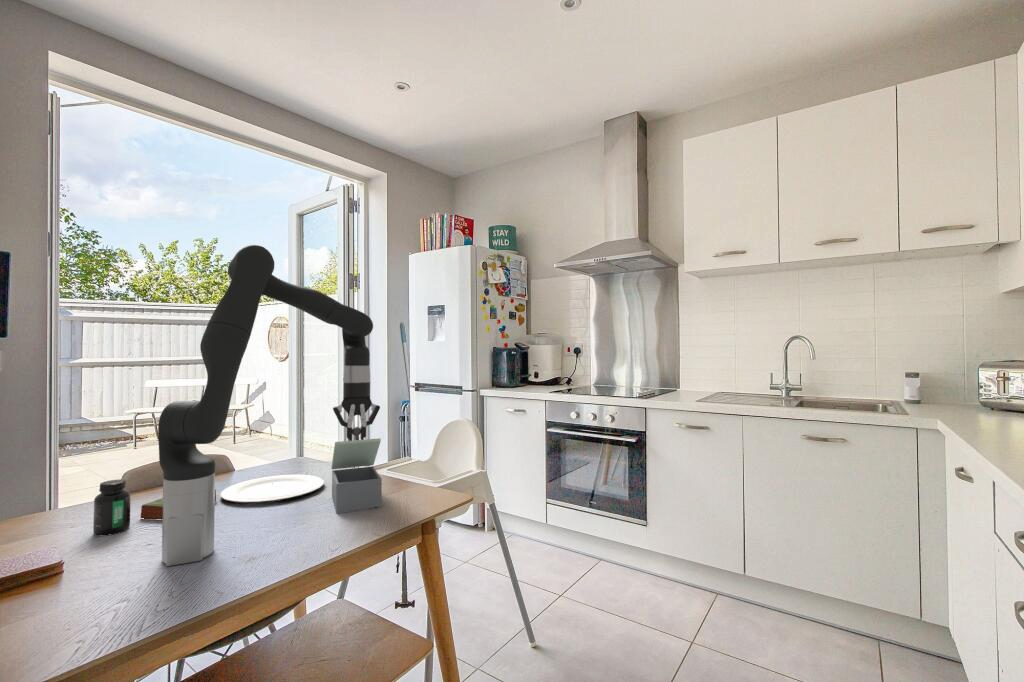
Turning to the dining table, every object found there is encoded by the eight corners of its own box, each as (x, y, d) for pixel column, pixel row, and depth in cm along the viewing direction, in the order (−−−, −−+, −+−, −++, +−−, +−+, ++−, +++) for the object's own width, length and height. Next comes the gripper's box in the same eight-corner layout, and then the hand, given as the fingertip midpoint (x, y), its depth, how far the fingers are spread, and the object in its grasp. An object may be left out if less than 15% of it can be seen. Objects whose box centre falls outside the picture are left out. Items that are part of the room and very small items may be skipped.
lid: (380, 440, 134) (378, 422, 137) (335, 444, 128) (334, 425, 132) (373, 465, 145) (371, 447, 149) (331, 469, 140) (330, 451, 143)
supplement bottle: (125, 533, 112) (126, 483, 112) (88, 538, 109) (90, 487, 109) (133, 523, 118) (134, 476, 118) (98, 528, 115) (99, 480, 115)
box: (381, 507, 130) (381, 478, 130) (336, 513, 125) (336, 483, 125) (372, 491, 145) (372, 466, 145) (331, 497, 140) (332, 470, 140)
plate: (342, 488, 149) (343, 482, 149) (250, 514, 125) (250, 507, 125) (293, 475, 166) (293, 470, 166) (202, 496, 142) (202, 490, 142)
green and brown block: (216, 503, 135) (216, 488, 136) (166, 522, 120) (167, 506, 120) (192, 501, 137) (192, 486, 137) (139, 520, 121) (140, 504, 121)
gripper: (332, 382, 130) (331, 443, 129) (383, 380, 136) (382, 440, 135) (330, 381, 137) (330, 440, 136) (379, 380, 142) (378, 436, 142)
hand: (356, 439), depth 135 cm, fingers closed on lid, 2 cm apart
